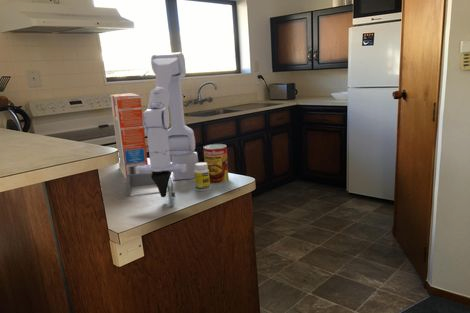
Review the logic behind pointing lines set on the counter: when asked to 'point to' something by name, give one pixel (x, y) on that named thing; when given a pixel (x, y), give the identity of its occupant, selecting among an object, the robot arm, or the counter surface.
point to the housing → (140, 184)
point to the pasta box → (129, 131)
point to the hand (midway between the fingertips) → (163, 196)
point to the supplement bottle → (202, 177)
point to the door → (170, 192)
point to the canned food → (216, 162)
